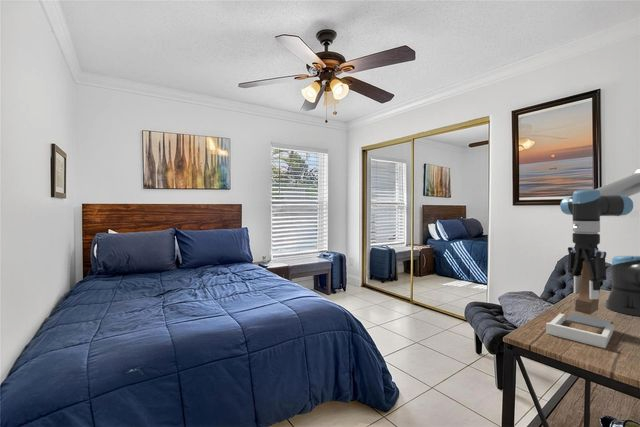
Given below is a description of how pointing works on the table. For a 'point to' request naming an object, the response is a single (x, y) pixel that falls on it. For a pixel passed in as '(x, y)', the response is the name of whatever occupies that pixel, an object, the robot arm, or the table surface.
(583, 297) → the wooden block
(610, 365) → the table surface
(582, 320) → the pad
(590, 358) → the table surface
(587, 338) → the white u-shaped bracket
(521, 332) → the table surface
